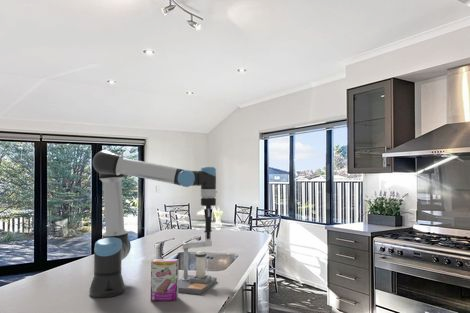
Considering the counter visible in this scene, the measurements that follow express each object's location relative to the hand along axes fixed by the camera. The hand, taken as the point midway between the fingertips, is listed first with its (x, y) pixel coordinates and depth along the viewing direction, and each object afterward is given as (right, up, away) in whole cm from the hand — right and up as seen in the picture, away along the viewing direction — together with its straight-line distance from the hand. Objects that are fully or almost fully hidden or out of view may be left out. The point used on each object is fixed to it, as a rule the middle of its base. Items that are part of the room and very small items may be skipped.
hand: (208, 245), depth 176 cm
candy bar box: (-16, -17, -26) cm, 35 cm away
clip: (-5, -1, -1) cm, 5 cm away
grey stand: (-6, -17, -8) cm, 20 cm away
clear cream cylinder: (-3, -16, -7) cm, 17 cm away
